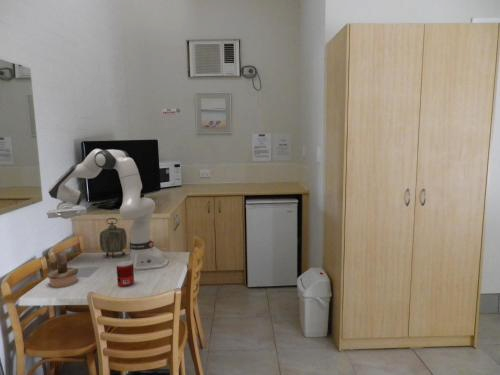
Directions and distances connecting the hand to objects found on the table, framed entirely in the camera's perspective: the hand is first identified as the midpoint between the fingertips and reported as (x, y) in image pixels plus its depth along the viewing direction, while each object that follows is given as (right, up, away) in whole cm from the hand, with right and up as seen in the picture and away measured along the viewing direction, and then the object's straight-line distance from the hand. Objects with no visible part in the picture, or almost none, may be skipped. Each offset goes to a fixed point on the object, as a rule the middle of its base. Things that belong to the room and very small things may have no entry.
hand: (68, 214), depth 203 cm
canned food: (+39, -34, -20) cm, 56 cm away
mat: (+7, -32, -2) cm, 33 cm away
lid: (+6, -29, -18) cm, 35 cm away
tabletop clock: (+15, -29, +27) cm, 42 cm away
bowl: (+6, -34, -17) cm, 39 cm away
